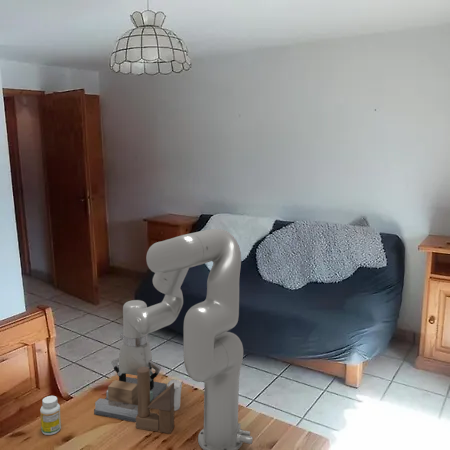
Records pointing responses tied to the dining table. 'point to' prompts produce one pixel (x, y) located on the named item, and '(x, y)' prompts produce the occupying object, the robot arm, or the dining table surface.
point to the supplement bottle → (50, 415)
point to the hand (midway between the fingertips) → (136, 387)
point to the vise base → (133, 380)
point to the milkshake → (176, 392)
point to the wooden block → (154, 405)
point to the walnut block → (123, 392)
